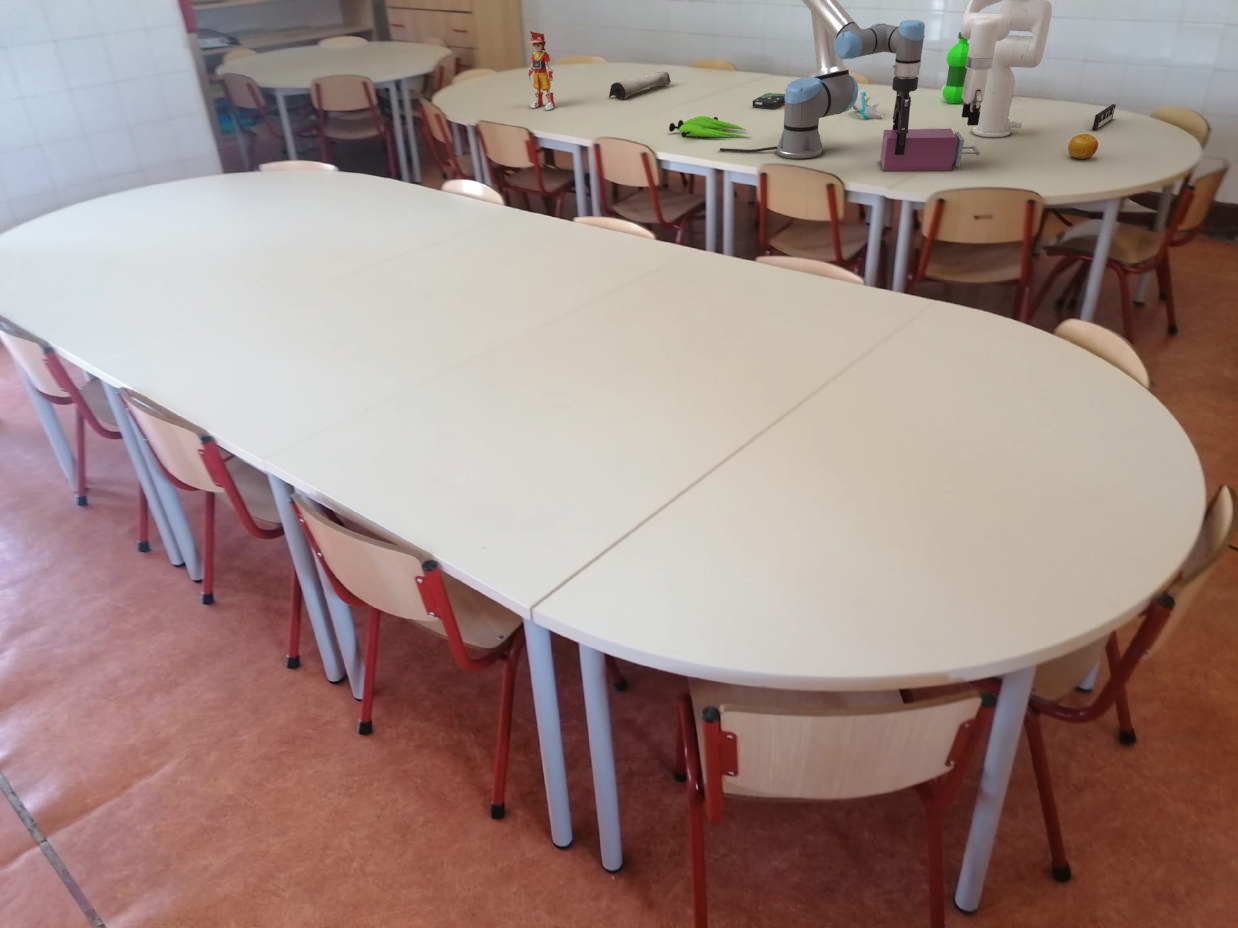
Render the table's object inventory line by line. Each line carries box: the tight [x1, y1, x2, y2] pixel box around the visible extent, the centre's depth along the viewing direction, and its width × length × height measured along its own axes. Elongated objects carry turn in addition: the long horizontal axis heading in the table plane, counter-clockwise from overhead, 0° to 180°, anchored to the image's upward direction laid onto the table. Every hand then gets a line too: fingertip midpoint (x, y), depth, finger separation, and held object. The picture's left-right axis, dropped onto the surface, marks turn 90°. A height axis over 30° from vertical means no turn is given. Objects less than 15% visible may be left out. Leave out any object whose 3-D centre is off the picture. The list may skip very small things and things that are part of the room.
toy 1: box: [527, 31, 556, 111], centre depth 374 cm, size 12×9×30 cm
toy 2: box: [668, 115, 748, 138], centre depth 334 cm, size 28×5×30 cm
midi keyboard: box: [1091, 103, 1117, 131], centre depth 317 cm, size 18×1×5 cm, turn 138°
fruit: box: [1067, 133, 1099, 160], centre depth 287 cm, size 8×8×8 cm
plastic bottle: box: [942, 31, 970, 104], centre depth 348 cm, size 10×10×25 cm
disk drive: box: [752, 92, 786, 110], centre depth 366 cm, size 10×3×15 cm
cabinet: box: [879, 128, 957, 172], centre depth 288 cm, size 21×10×10 cm, turn 83°
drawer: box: [953, 131, 981, 167], centre depth 288 cm, size 26×9×8 cm, turn 83°
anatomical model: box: [852, 88, 884, 120], centre depth 343 cm, size 15×10×10 cm
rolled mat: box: [608, 71, 672, 101], centre depth 395 cm, size 30×9×10 cm
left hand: (897, 149), depth 289 cm, fingers closed on cabinet, 10 cm apart
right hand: (969, 121), depth 283 cm, fingers open, 9 cm apart
